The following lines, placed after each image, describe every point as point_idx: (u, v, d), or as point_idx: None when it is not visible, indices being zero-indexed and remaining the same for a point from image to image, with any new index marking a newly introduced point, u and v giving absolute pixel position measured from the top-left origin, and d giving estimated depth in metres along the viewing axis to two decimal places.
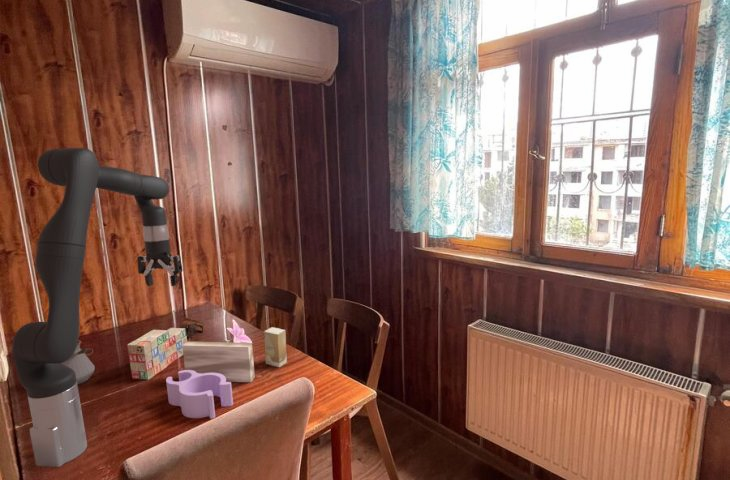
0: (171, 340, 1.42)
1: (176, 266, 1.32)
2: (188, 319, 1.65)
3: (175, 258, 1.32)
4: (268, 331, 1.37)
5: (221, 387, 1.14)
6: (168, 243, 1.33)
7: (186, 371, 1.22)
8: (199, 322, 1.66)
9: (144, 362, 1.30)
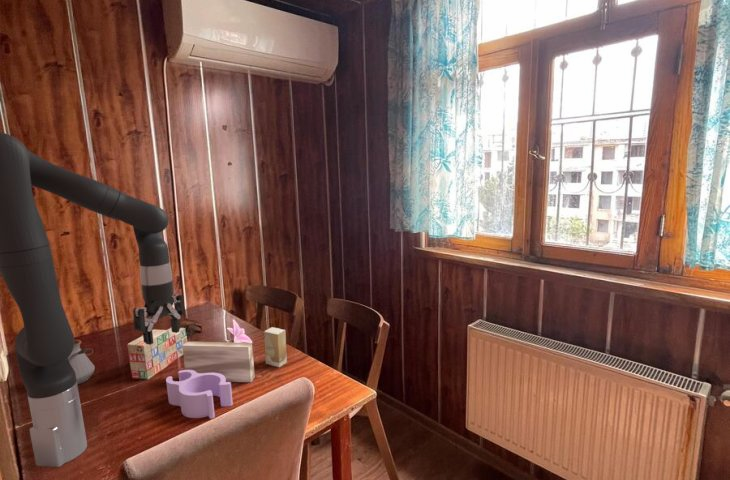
0: (171, 340, 1.42)
1: (183, 306, 1.14)
2: (187, 319, 1.65)
3: (182, 297, 1.13)
4: (268, 331, 1.37)
5: (221, 387, 1.14)
6: None
7: (186, 371, 1.22)
8: (198, 322, 1.66)
9: (144, 362, 1.30)
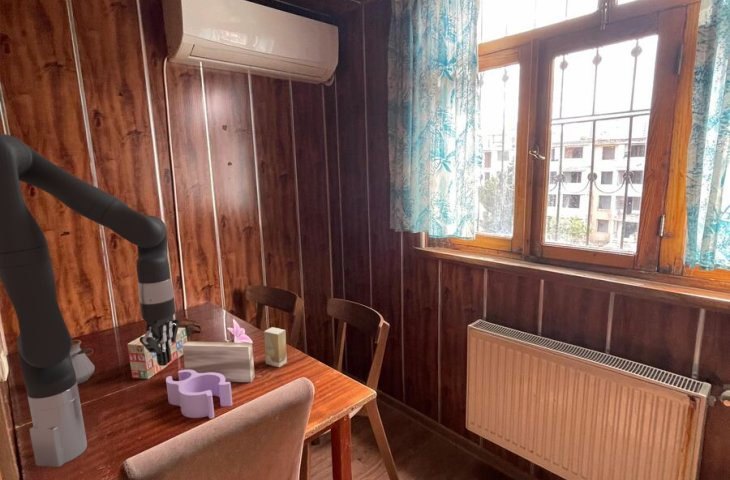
0: None
1: (176, 332, 1.04)
2: (186, 319, 1.65)
3: (178, 322, 1.05)
4: (268, 331, 1.37)
5: (220, 387, 1.14)
6: None
7: (186, 371, 1.22)
8: (197, 322, 1.66)
9: (144, 361, 1.30)
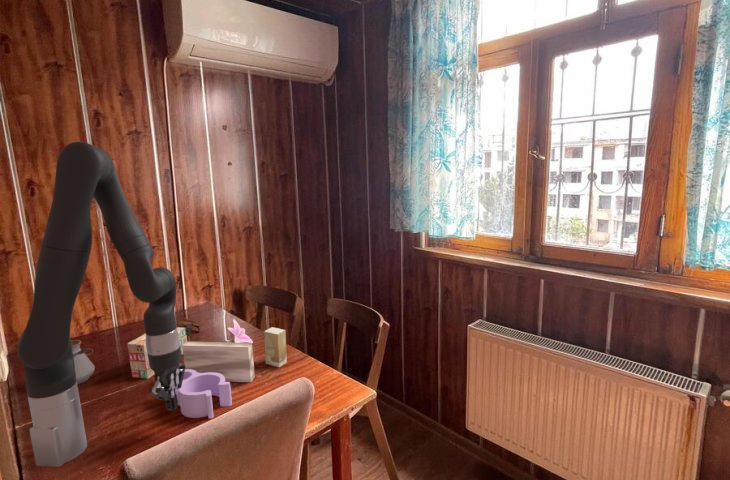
0: None
1: (182, 378, 1.07)
2: (184, 319, 1.65)
3: (184, 368, 1.08)
4: (268, 331, 1.37)
5: (220, 387, 1.14)
6: None
7: (186, 370, 1.22)
8: (195, 322, 1.66)
9: (144, 361, 1.31)
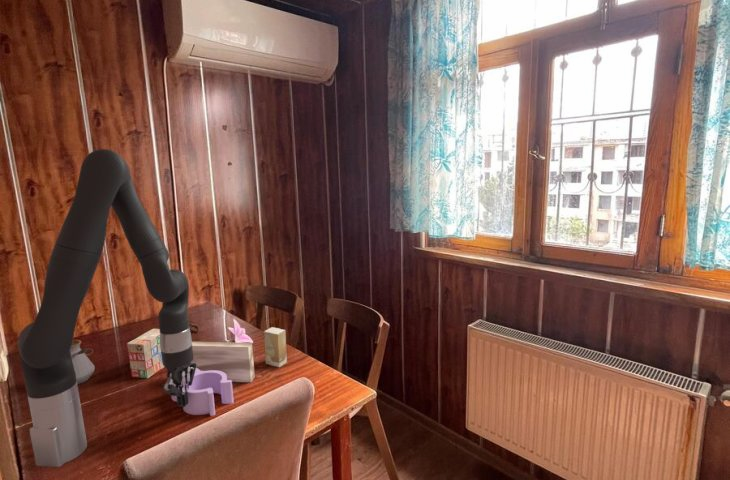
0: None
1: (193, 376, 1.11)
2: None
3: (195, 366, 1.13)
4: (268, 331, 1.37)
5: (222, 385, 1.15)
6: None
7: None
8: (194, 322, 1.66)
9: (144, 361, 1.31)
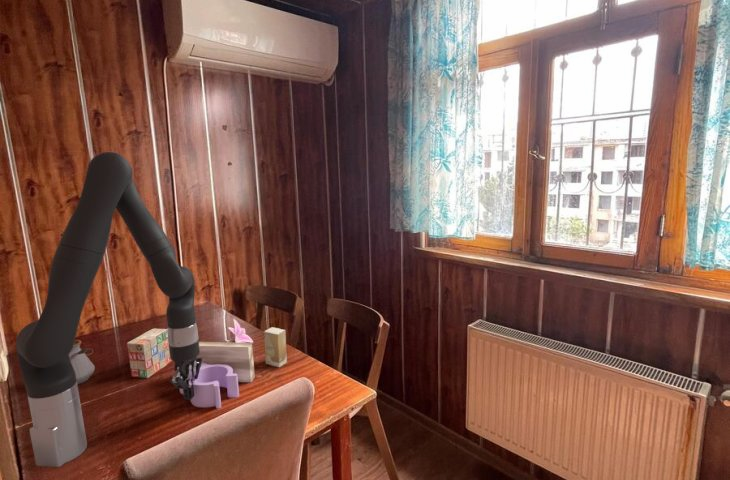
0: None
1: (198, 370, 1.15)
2: None
3: (201, 360, 1.16)
4: (268, 331, 1.37)
5: (228, 378, 1.18)
6: None
7: None
8: None
9: (143, 360, 1.31)
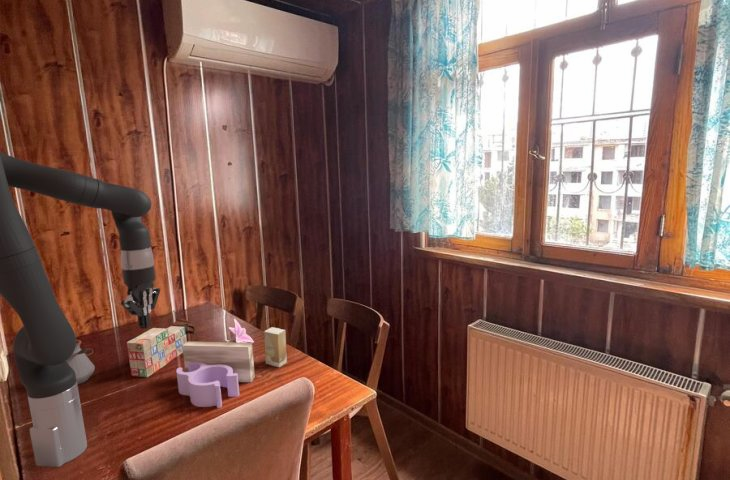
0: (170, 338, 1.44)
1: (156, 300, 1.12)
2: (179, 320, 1.65)
3: (159, 291, 1.13)
4: (268, 331, 1.37)
5: (228, 378, 1.19)
6: None
7: (195, 362, 1.27)
8: (191, 323, 1.66)
9: (143, 360, 1.32)
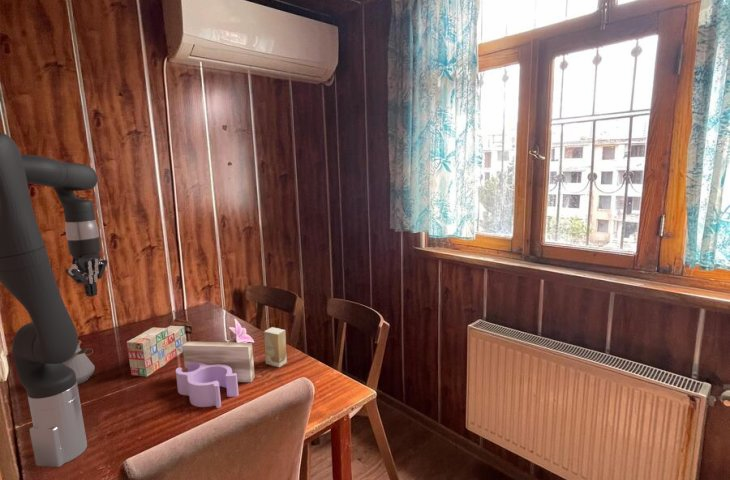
0: (170, 338, 1.44)
1: (103, 270, 1.18)
2: (177, 320, 1.64)
3: (106, 262, 1.20)
4: (268, 331, 1.37)
5: (227, 378, 1.19)
6: None
7: (195, 362, 1.27)
8: (188, 323, 1.66)
9: (143, 359, 1.32)
